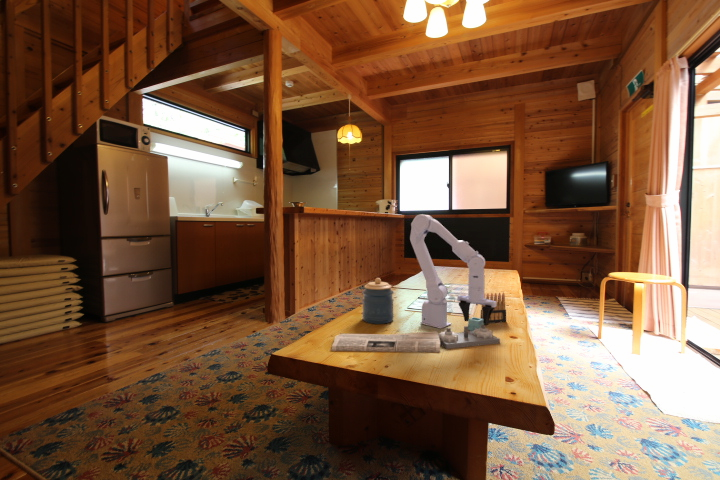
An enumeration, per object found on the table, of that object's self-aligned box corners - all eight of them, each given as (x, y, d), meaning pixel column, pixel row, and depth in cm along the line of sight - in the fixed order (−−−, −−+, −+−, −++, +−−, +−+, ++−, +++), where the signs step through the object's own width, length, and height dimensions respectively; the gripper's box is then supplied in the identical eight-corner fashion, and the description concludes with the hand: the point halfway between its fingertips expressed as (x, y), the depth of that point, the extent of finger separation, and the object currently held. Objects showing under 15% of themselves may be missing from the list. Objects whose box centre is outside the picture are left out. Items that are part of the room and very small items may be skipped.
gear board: (446, 348, 104) (446, 333, 104) (433, 339, 113) (433, 325, 113) (499, 343, 109) (499, 328, 109) (483, 334, 118) (483, 320, 118)
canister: (390, 325, 128) (390, 281, 127) (358, 323, 132) (358, 279, 131) (396, 316, 141) (396, 276, 140) (367, 314, 144) (366, 274, 144)
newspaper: (331, 352, 103) (331, 341, 103) (336, 338, 116) (336, 328, 116) (444, 353, 102) (444, 342, 102) (436, 339, 114) (436, 329, 114)
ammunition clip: (503, 320, 135) (504, 291, 134) (506, 321, 133) (507, 292, 132) (480, 322, 133) (480, 293, 132) (482, 323, 131) (483, 293, 130)
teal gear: (464, 329, 123) (464, 319, 123) (472, 326, 128) (472, 315, 127) (479, 333, 119) (479, 322, 119) (487, 329, 123) (487, 319, 123)
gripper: (500, 288, 120) (499, 324, 121) (463, 283, 131) (463, 316, 131) (491, 290, 115) (491, 328, 116) (454, 285, 126) (454, 320, 126)
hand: (476, 322), depth 123 cm, fingers open, 7 cm apart
